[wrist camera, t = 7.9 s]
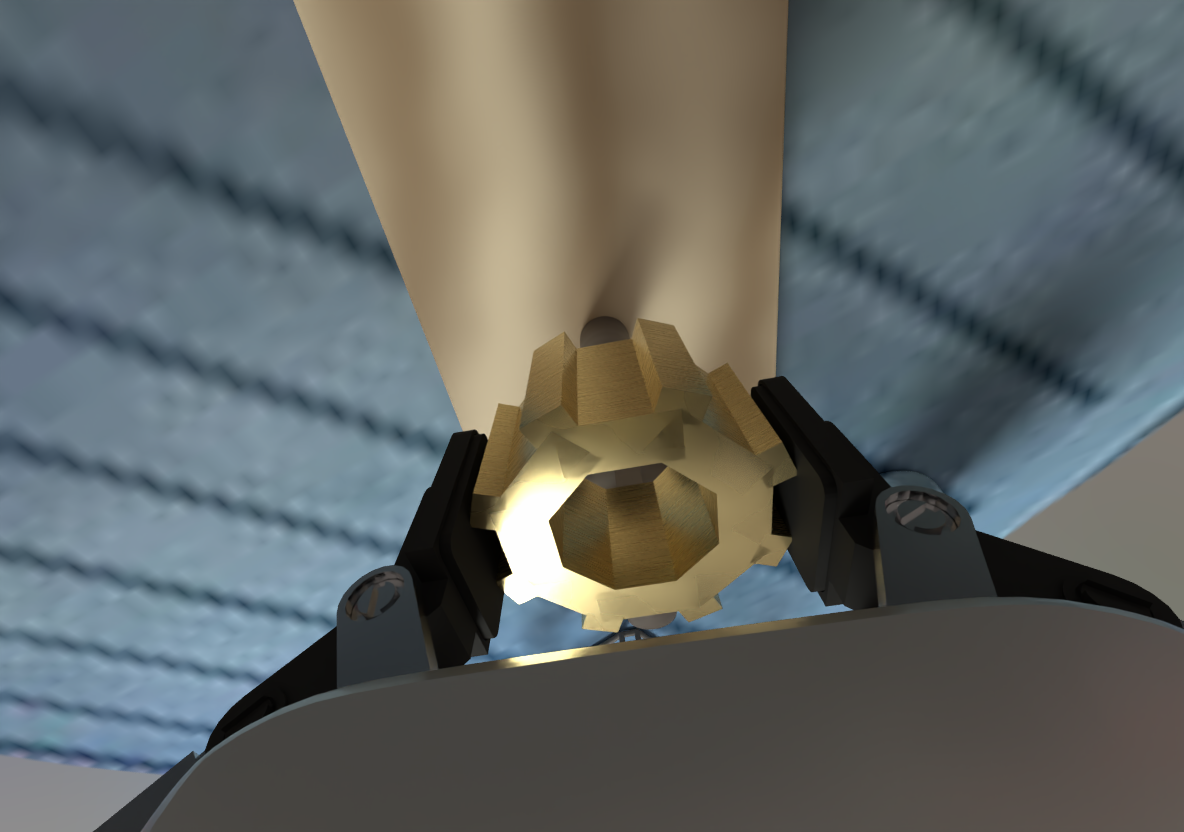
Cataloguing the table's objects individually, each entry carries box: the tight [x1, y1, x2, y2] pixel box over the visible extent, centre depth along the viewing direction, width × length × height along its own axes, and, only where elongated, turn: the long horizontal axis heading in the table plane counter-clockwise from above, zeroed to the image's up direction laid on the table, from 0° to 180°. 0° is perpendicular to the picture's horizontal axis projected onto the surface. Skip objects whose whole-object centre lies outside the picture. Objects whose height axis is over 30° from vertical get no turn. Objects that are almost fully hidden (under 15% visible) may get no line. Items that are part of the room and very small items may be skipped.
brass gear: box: [470, 318, 797, 632], centre depth 11 cm, size 7×7×4 cm
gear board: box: [294, 0, 788, 629], centre depth 17 cm, size 14×29×8 cm, turn 10°
